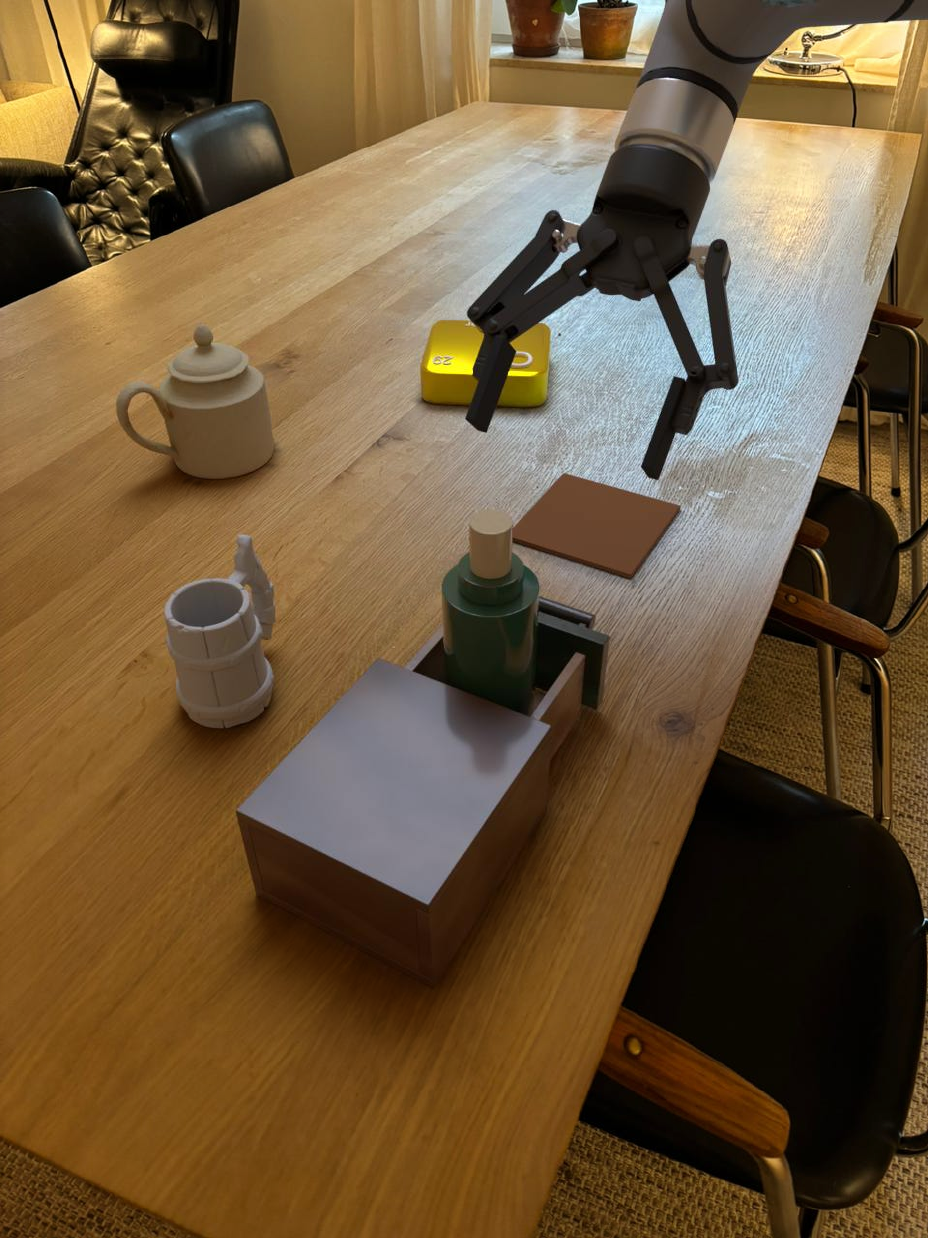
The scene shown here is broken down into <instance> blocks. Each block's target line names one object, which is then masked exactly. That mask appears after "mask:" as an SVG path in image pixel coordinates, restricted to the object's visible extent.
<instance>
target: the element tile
mask: <svg viewBox="0 0 928 1238" xmlns="http://www.w3.org/2000/svg"><path fill="white" fill-rule="evenodd" d="M551 336H552V330H551V327H549V325H547V323H543V322H539V323H538V324H536V325H535V326H533V327H532V328H530V329H529V330H527V331H526V332H525V333H523V334H522V335H520V336H519V337H517V338H516V339H515V340H513V341H512V342H510V344H511V345H512V347H513V348H514V349H515V350H516V354H515V357H514V360H513V362H512V365H511V368H510V370H509V373H508V376H507V379H506V381H505V384H504V387H503V390H502V392H501V395H500V398H499V401H498V403H497V406H496V408H497V407H501V408H526V409H527V408H536V407H537V408H538V407H540V406H542V405H543V404H544V403H545V402H546V401H547V399H548V386H549V373H550V357H551V341H552V340H551V338H552V337H551ZM483 338H484V333H481V332H480V331H479V330H478V329H477V328H476V326H475V325H474V324H473V323H472V322H471V321H470V320H466V319H465V320H462V319H440V320H437V321H436V322H435V323H433V324H432V326H431V328H430V332H429V335H428V338H427V342H426V345H425V348H424V352H423V355H422V359H421V362H420V365H419V369H420V371H419V372H420V393H421V398H422V399H423V400H424V401H425V402H427V403H429V404H434V405H442V406H443V405H445V406H446V405H447V406H470V404H471V401H472V398H473V396H474V393H475V390H476V387H477V385H478V381H477V380H476V379H475V378H474V377H473V376H472V368H473V366H474V363H475V360H476V358H477V355H478V352H479V349H480V347H481V344H482V341H483Z"/></svg>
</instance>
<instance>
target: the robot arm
mask: <svg viewBox="0 0 928 1238" xmlns="http://www.w3.org/2000/svg"><path fill="white" fill-rule="evenodd" d="M664 2H665V3H664V7H663V11H662V14H661V16H660V20H659V23H658V25H657V29H656V32H655V35H654V37H653V40H652V42H651V45H650V48H649V51H648V54H647V57H646V59H645V62H644V65H643V68H642V71H641V73H640V76H639V79H638V81H637V84H636V87H635V90H634V93H633V95H632V98H631V100H630V103H629V105H628V108H627V110H626V113H625V116H624V118H623V121H622V123H621V126H620V128H619V131H618V133H617V135H616V139H615V141H614V152H613V153H612V154H611V155H610V156H609V158H608V161H607V164H606V167H605V169H604V173H603V175H602V178H601V181H600V183H599V186H598V189H597V192H596V195H595V198H594V201H593V205H592V209H591V211H590V213H589V216H587V218H586V219H585V220H584V221H583V222H582V223H577V222H574V221H572V220H568V219H564V218H563V217H562V215H561V214H560V212H559V210H556V209H551V210H549V211H548V212H546V214H545V215H544V217H543V219H542V220H541V223H540V225H539V227H538V229H537V232H535V235H534V237H533V238H532V239H531V240H530V241H529V242H528V243H527V244H526V245H525V246H524V248H523V249H522V250H521V251H520V252H519V253H518V254H516V256H515V257H514V258H513V260H511V262H510V263H509V264H508V265H507V266H506V267H505V268H504V269H503V270H502V271H501V272H500V274H498V276H497V277H496V278H495V279H494V280H493V281H492V282H491V283H490V284H489V285H488V286H487V287H486V289H484V290H483V292H482V293H481V294H480V295H479V296H478V297H477V298H476V299H475V300H474V301H473V303H472V304H471V305H470V306H469V307H468V309H467V311H466V317H467V318H468V319H469V321H471V322H472V323H473V324H474V325H475V326H476V328H477V329H478V330H479V331H480V332H481V333H484V338H483V341H482V344H481V347H480V349H479V352H478V355H477V358H476V360H475V363H474V366H473V368H472V376H473V377H474V378H475V379H476V380H477V381H478V385H477V387H476V390H475V393H474V396H473V398H472V401H471V404H470V405H469V407H468V409H467V412H466V414H465V417H464V420H465V421H467V422H468V423H469V425H471V426H472V427H473V428H474V429H475V430H476V431H478V432H482V433H485V434H487V433H488V431H489V427H490V425H491V422H492V419H493V418H494V414H495V411H496V409H497V403H498V401H499V398H500V395H501V392H502V390H503V387H504V384H505V381H506V379H507V376H508V373H509V370H510V368H511V365H512V362H513V360H514V357H515V354H516V350H515V349H514V348H513V347H512V345H511V344H510V342H512V341H513V340H515V339H516V338H517V337H519V336H520V335H522V334H523V333H525V332H526V331H527V330H529V329H530V328H532V327H533V326H535V325H536V324H538V323H541V322H542V321H543V320H545V319H546V318H547V317H549V316H551V315H552V314H553V313H555V312H556V311H558V310H560V309H561V308H562V307H563V306H565V305H566V304H568V303H569V302H571V301H572V300H573V299H575V298H576V297H583V296H586V295H587V294H588V293H590V292H591V291H592V290H594V289H596V290H597V291H598V292H599V294H602V295H606V296H623V297H624V298H626V299H629V300H630V301H636V302H641V301H642V300H643V299H647V298H650V297H651V296H654V298H655V300H656V303H657V306H658V308H659V311H660V313H661V315H662V318H663V320H664V322H665V325H666V328H667V331H668V332H669V335H670V337H671V340H672V342H673V344H674V347H675V349H676V352H677V354H678V356H679V359H680V361H681V363H682V366H683V368H684V370H685V373H686V376H687V377H686V379H685V378H683V377H680V376H675V375H674V376H673V377H672V380H671V383H670V385H669V388H668V391H667V394H666V396H665V400H664V403H663V405H662V406H661V407H662V408H661V411H660V413H659V416H658V417H657V421H656V424H655V427H654V429H653V432H652V435H651V438H650V439H649V442H648V446H647V449H646V451H645V454H644V457H643V459H642V462H641V465H640V468H641V470H642V471H643V473H644V474H645V475H646V477H647V478H649V479H650V480H651V479H652V480H656V481H659V480H660V477H661V476H662V475H661V474H662V472H663V469H664V467H665V464H666V461H667V458H668V455H669V452H670V449H671V447H672V444H673V441H674V439H675V437H676V434H680V435H684V436H688V435H689V433H690V432H691V431H692V430H693V428H694V425H695V423H696V419H697V417H698V414H699V412H700V408H701V407H702V403H703V401H704V398H705V396H706V394H707V393H709V392H710V391H712V390H717V389H724V390H726V391H732V390H734V389H735V388H737V386H738V384H739V375H738V373H739V372H738V366H737V359H736V352H735V346H734V337H733V330H732V323H731V317H730V308H729V303H728V295H727V288H726V287H727V282H728V280H729V274H730V272H731V271H730V270H731V267H732V259H731V255H730V250H729V246H728V243H727V241H726V240H725V239H724V238H716V239H714V240H713V241H712V242H711V243H710V244H709V245H707V244H693V238H694V236H695V233H696V231H697V229H698V225H699V222H700V220H701V217H702V214H703V212H704V209H705V206H706V203H707V201H708V198H709V195H710V193H711V185H710V184H711V183H712V182H713V181H714V180H715V177H716V174H717V172H718V169H719V167H720V164H721V162H722V158H723V156H724V153H725V150H726V148H727V145H728V143H729V140H730V137H731V134H732V132H733V129H734V126H735V123H736V120H737V118H738V114H739V111H740V109H741V106H742V104H743V101H744V99H745V96H746V93H747V90H748V89H749V86H750V84H751V83H750V82H751V80H752V78H753V76H754V74H755V72H756V71H757V69H758V68H759V67H760V66H761V65H762V64H763V63H764V62H765V60H767V59H768V58H769V57H770V56H771V55H772V54H773V53H774V52H776V51H777V50H778V49H779V48H780V47H781V46H782V45H783V44H784V43H785V42H786V41H787V40H788V39H789V38H790V37H791V36H792V35H793V34H794V33H796V31H798V30H801V29H806V28H820V27H823V28H824V27H837V26H839V27H840V26H852V25H868V24H869V25H871V24H887V23H889V22H907V21H909V22H910V21H928V0H664ZM573 244H577V246H578V249H579V250H578V251H577V252H575V253H574V254H572V255H571V256H570V257H568V258H567V259H566V260H564V261H563V262H562V264H561V265H560V268H559V269H558V270H556V271H555V272H553V273H552V274H551V275H550V276H548V277H547V278H545V279H544V280H542V281H541V282H539V283H538V284H537V285H535V286H534V284H535V283H536V282H538V280H539V279H540V278H541V277H542V276H543V275H544V274H545V273H546V272H547V270H549V269H550V267H551V266H553V264H554V263H555V261H556V260H557V259H558V257H559V255H560V253H562V254H565V253H567V252H568V250H569V247H570V246H571V245H573ZM690 265H693V266H695V270H696V273H697V274H696V275H697V276H698V278H699V279H701V280H703V283H704V290H705V297H706V303H707V304H706V305H707V312H708V320H709V328H710V334H711V342H712V348H713V350H712V351H713V356H714V363H713V364H704V363H703V361H702V358H701V356H700V353H699V351H698V349H697V346H696V344H695V341H694V339H693V337H692V334H691V333H690V330H689V327H688V325H687V323H686V320H685V318H684V315H683V313H682V311H681V309H680V307H679V304H678V301H677V298H676V297H675V294H674V292H673V290H672V286H671V285H670V282H671V281H672V280H673V279H675V278H676V277H677V276H678V275H680V274H681V273H683V272H684V271H685V270H686V269H687V268H688V267H690ZM584 271H585V272H584ZM582 272H584V273H583V274H582ZM533 286H534V287H533ZM532 287H533V288H532Z"/></svg>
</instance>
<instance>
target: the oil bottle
mask: <svg viewBox="0 0 928 1238" xmlns="http://www.w3.org/2000/svg"><path fill="white" fill-rule="evenodd" d="M513 528H514V520H513V518H512V516H511V515H509V514H508V513H507V512H506V511H502V510H498V509H483V510H480V511H477V512H475V513H473V514H472V516H471V517H470V518H469V521H468V537H469V538H468V542H469V544H468V545H469V546H468V547H469V550H468V552H467V553H465V554H464V555H463V556H462V557H460V560H459V561H458V563H457V564H456V565H454V566H453V567H451V568H450V569H449V570H448V571H447V572H446V574H445V575H444V577H443V579H442V581H441V609H442V611H441V612H442V624H443V644H444V674H445V684H447V685H449V686H452V687H454V688H457V689H459V690H462V691H465V692H467V693H470V694H472V695H475V696H477V697H480V698H482V699H485V700H488V701H490V702H493V703H495V704H498V705H500V706H503V707H506V708H508V709H511V710H513V711H516V712H518V713H521V714H523V715H526V716H529V717H530V716H531V714H532V713H533V712H534V694H535V691H536V687H535V673H536V652H537V631H538V611H539V596H540V590H541V589H540V587H541V585H540V582H539V579H538V577H537V575H536V573H534V571H533V570H531V568H530V567H528V566H526V565H525V564H524V562H523V561H522V559H521V558H520V556H519V555H517V554H516V553H514V552H513V541H512V540H513Z"/></svg>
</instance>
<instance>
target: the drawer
mask: <svg viewBox="0 0 928 1238" xmlns="http://www.w3.org/2000/svg"><path fill="white" fill-rule="evenodd" d="M596 619H597V616H596V615H595V614H594V613H591V612H588V611H585V610H582V609H579V608H576V607H573V606H570V605H568V604H564V603H561V602H559V601H555V600H553V599H549V598H546V597H544V596H541V595H539V611H538V631H537V652H536V673H535V689H539V690H541V691H544V692H546V694H544V693H542V692H538V691H536V690H535V694H534V712H533V713H532V714H531V716H530V717H531V718H534V719H536V720H539V721H541V722H544V723H546V724H549V725H551V726H552V737H551V752H550V761H551V760H552V758H553V757H554V756H555V754H556V752H557V751H558V749H560V746H561V745H562V744H563V742H564V740H565V739H566V738H567V736H568V735H569V733H570V731H571V730H572V728H573V727H574V725H575V724H576V722H577V721H578V719H579V718H580V717H581V711H582V710H581V709H582V708H581V707H582V706H584V707H587V708H589V709H592V710H595V711H598V710H599V708H600V706H601V705H602V704H603V702H604V694H605V693H604V692H605V683H606V676H607V668H608V667H607V666H608V658H609V650H610V649H609V648H610V641H611V639H610V638H611V636H610V635H609V634H605V633H603V632H601V631H597V630H594V629H593V628H594V627H595V624H596ZM402 667H403V668H406V669H408V670H411V671H413V672H416V673H419V674H421V675H424V676H426V677H429V678H431V679H434V680H436V681H439V682H442V683H444V684H445V674H444V644H443V623H442V624H441V625H440V626H439V627H438V628H437V629H436V630H435V632H434V633H433V634H431V636H430V637H429V638H428V639H427V641H426V642H425V643H424V644H423V645H422V646H421V647H420V648H419V649H418V650H417V652H416V653H415V654H414V655H413V656H412V657H411V658H410V659H409V660H408V662H407V663H406V664H405V665H404V666H402Z"/></svg>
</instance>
